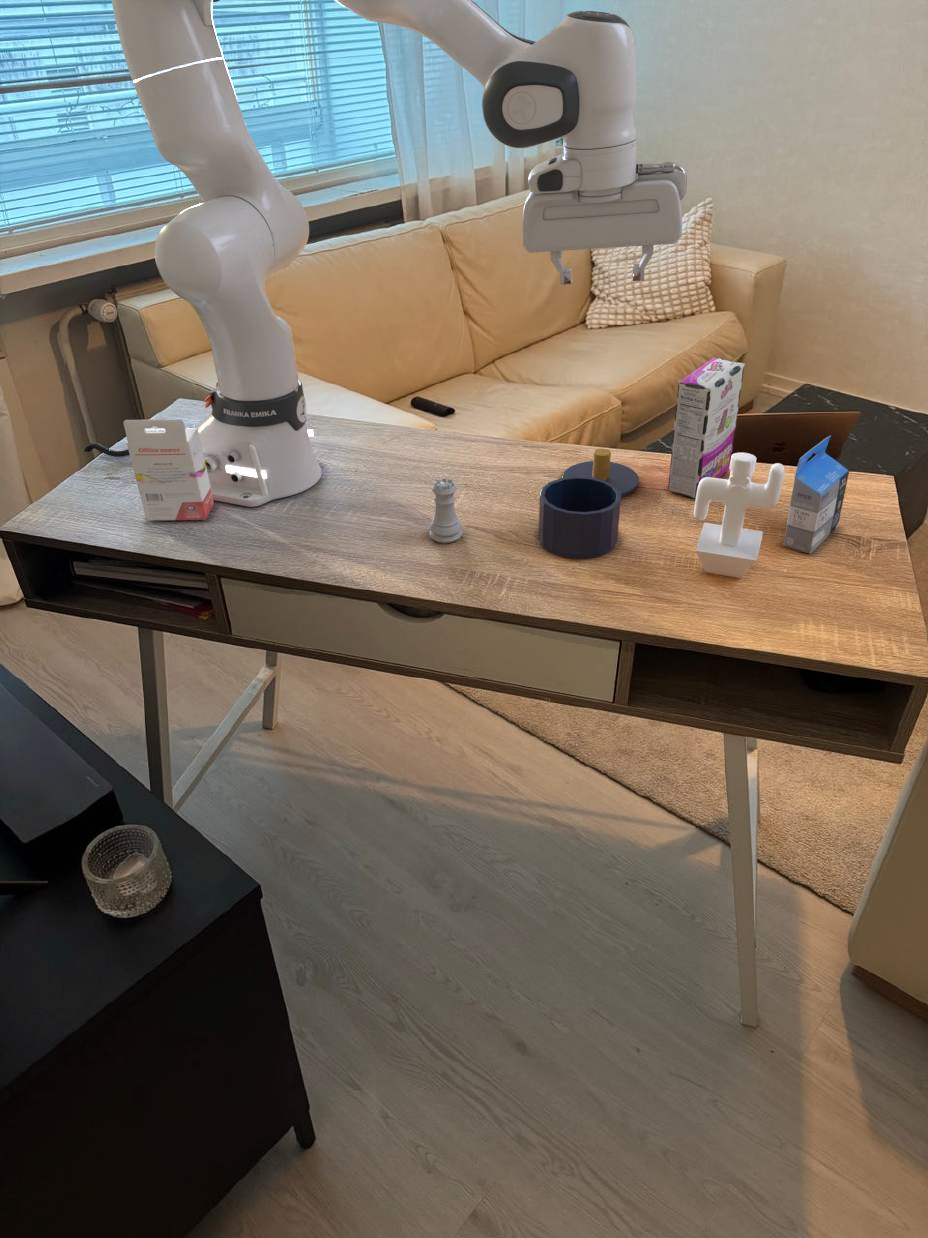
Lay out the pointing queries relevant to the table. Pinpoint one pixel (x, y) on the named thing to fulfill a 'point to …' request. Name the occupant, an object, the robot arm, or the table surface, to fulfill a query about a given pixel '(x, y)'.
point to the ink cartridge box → (169, 469)
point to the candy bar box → (705, 424)
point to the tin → (579, 517)
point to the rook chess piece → (445, 513)
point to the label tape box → (815, 499)
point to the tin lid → (606, 472)
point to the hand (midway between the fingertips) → (602, 281)
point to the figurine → (734, 516)
